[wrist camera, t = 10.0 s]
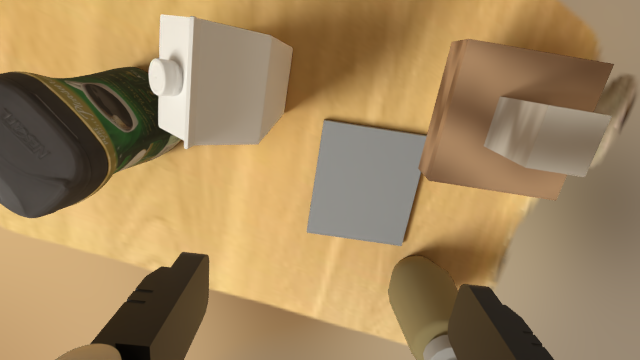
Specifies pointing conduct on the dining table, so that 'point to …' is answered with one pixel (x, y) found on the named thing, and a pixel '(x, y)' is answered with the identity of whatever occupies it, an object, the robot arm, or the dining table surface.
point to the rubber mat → (365, 182)
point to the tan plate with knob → (514, 119)
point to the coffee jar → (73, 135)
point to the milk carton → (218, 81)
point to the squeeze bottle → (423, 306)
